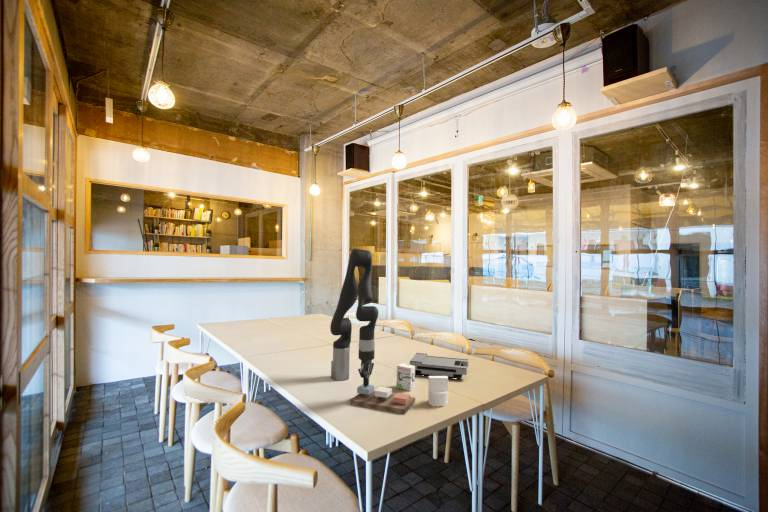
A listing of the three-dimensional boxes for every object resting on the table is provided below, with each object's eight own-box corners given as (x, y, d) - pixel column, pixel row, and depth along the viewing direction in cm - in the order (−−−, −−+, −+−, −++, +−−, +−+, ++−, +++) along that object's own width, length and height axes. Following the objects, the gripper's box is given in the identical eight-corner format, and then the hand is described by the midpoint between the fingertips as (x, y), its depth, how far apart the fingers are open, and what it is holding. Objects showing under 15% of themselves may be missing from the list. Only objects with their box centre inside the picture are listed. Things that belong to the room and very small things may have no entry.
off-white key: (374, 395, 164) (374, 390, 164) (379, 391, 169) (379, 386, 169) (386, 398, 161) (387, 392, 161) (391, 393, 167) (391, 388, 167)
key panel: (350, 404, 163) (350, 396, 163) (364, 393, 177) (364, 386, 177) (404, 414, 153) (404, 406, 153) (415, 401, 167) (415, 394, 167)
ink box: (395, 388, 185) (396, 365, 186) (400, 385, 190) (401, 363, 190) (410, 391, 181) (411, 367, 181) (415, 388, 185) (415, 365, 185)
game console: (466, 381, 198) (466, 366, 198) (409, 375, 207) (409, 361, 207) (468, 371, 218) (468, 357, 218) (416, 365, 227) (416, 352, 227)
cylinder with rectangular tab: (445, 399, 171) (445, 374, 171) (449, 406, 162) (450, 380, 162) (426, 399, 171) (427, 373, 171) (429, 406, 162) (430, 380, 162)
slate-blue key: (357, 392, 167) (357, 387, 167) (362, 388, 172) (362, 383, 173) (368, 394, 165) (368, 389, 165) (374, 390, 170) (374, 385, 170)
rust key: (393, 402, 160) (393, 397, 160) (397, 397, 166) (397, 392, 166) (405, 404, 158) (405, 399, 158) (410, 400, 163) (410, 394, 163)
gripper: (365, 345, 177) (364, 380, 176) (353, 350, 164) (352, 389, 164) (379, 346, 174) (378, 382, 173) (368, 352, 161) (367, 391, 161)
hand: (366, 385), depth 169 cm, fingers closed
